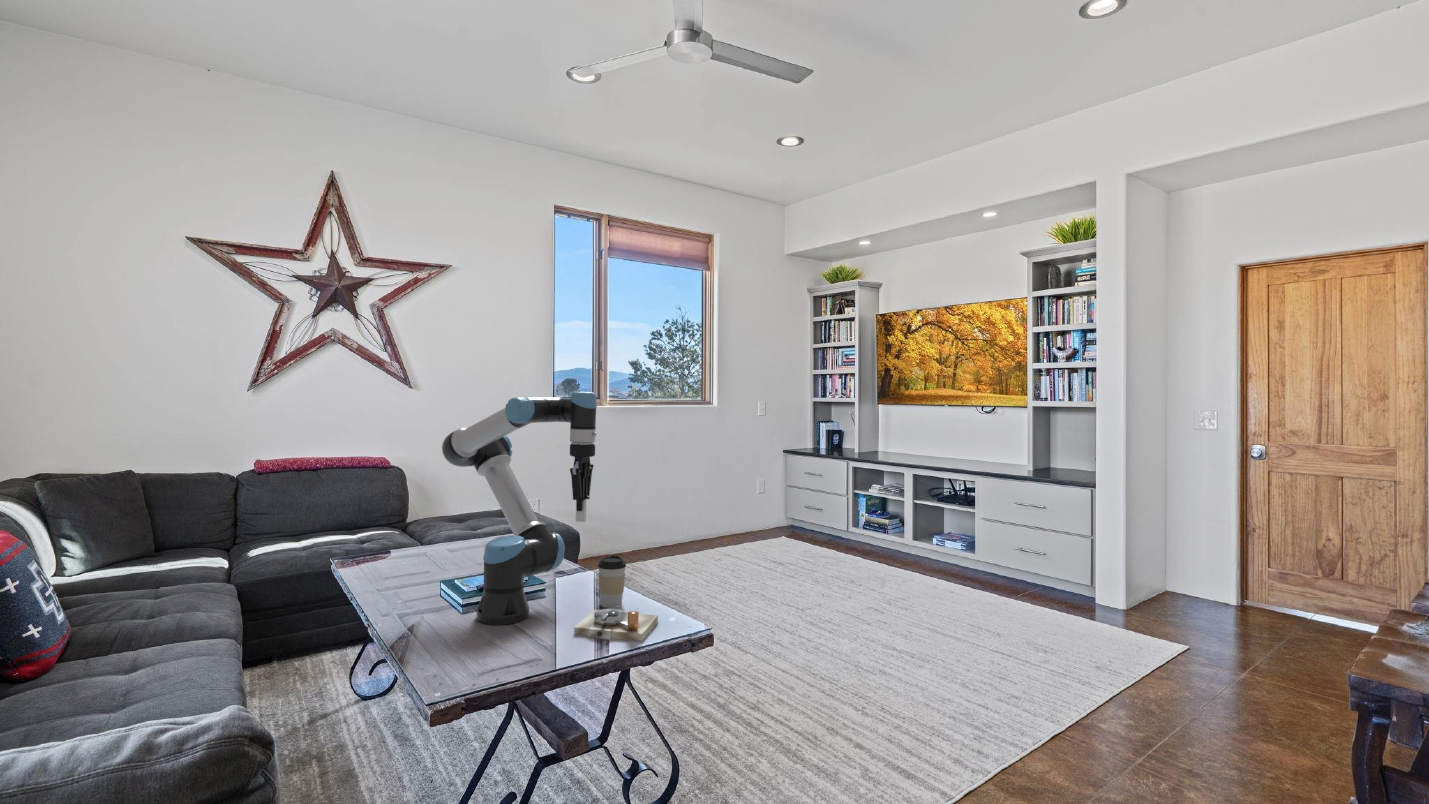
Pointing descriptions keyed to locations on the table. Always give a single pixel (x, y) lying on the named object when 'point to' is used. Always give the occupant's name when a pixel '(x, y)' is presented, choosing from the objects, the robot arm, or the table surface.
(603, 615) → the cam capstan
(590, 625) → the stand
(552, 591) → the table surface
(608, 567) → the coffee cup
